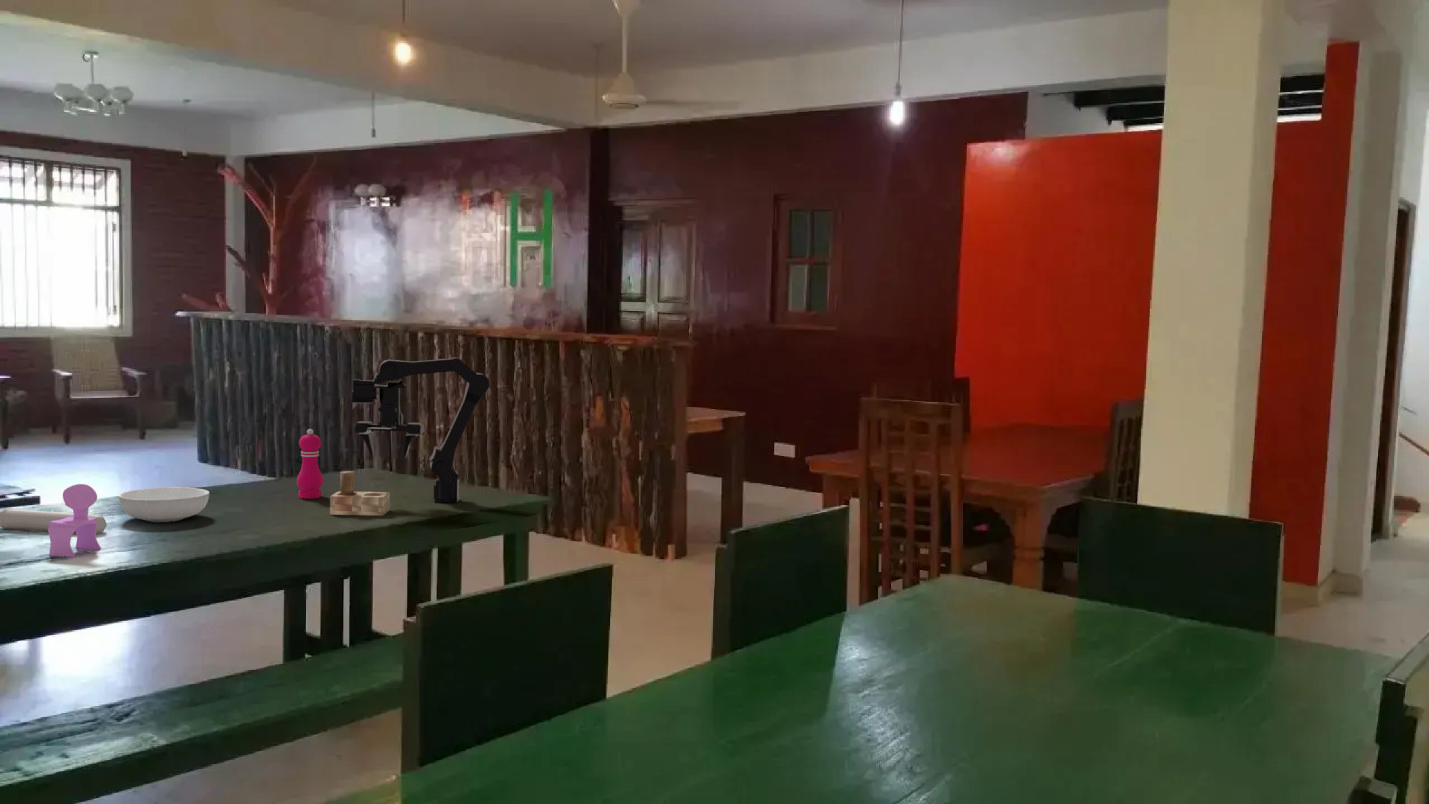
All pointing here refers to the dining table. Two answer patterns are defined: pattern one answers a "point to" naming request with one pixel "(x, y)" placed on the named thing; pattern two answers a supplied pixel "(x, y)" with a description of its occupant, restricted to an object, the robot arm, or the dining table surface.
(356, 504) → the bore block
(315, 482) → the pepper mill
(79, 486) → the toy chair
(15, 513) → the tube
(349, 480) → the dowel
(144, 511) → the serving bowl
